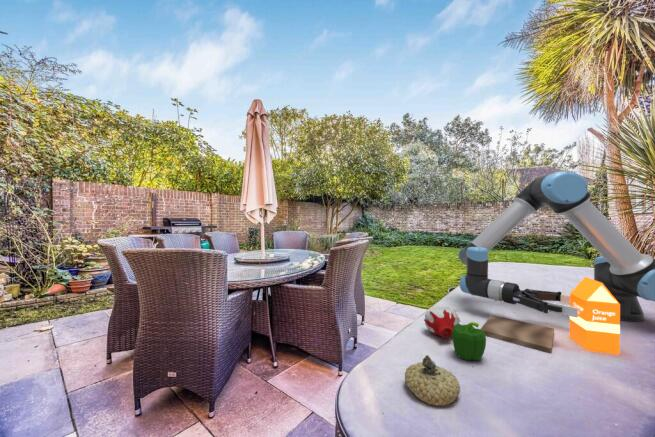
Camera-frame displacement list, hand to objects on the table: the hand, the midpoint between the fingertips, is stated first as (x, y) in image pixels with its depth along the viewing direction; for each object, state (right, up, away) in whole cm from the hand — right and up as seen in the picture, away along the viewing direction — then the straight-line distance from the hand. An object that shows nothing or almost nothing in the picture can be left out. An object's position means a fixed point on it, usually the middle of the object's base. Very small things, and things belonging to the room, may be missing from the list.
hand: (582, 307), depth 81 cm
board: (-16, -11, +7) cm, 20 cm away
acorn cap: (-56, -11, -22) cm, 61 cm away
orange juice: (+2, -11, -1) cm, 11 cm away
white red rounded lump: (-41, -11, +6) cm, 43 cm away
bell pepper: (-40, -11, -8) cm, 42 cm away
